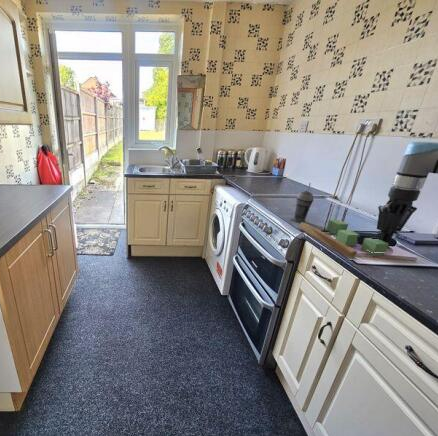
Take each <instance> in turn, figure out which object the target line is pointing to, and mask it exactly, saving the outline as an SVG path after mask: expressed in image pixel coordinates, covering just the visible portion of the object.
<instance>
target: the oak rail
mask: <svg viewBox="0 0 438 436" xmlns="http://www.w3.org/2000/svg"><path fill="white" fill-rule="evenodd" d="M299 229H300V230H301V231H303V232H305V233H307V234H309V235H310V236H311V237H313V238H314V239H317V240H318V241H320V242H321V243H323V244H324V245H326V246H328V247H329V248H331V249H333V250H335V252H338V253H340V254H341V255H343V256H344V257H346V258H348V259H351V260H352V259H355V258H356V256H357V253H358V251H357V250H356V249H354V248H352V247H351V246H347V245H345V244H343V243H341V242H340V241H338V240H336V238H334V237H332V236H331V235H329V234H327V233H325V232H323V231H321V230H320V229H318V228H316V227H314V226H312V225H311V224H310V223H307V222H305V221H304V222H301V223H300V225H299Z"/></svg>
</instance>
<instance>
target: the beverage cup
mask: <svg viewBox="0 0 438 436" xmlns="http://www.w3.org/2000/svg"><path fill="white" fill-rule="evenodd" d="M311 184H312V183H311V182H309V184H308V187H307V190H303V191H301V192H299V193H298V194H297V196H296V198H295V199H296V201H295V202H296V203H295V210H294V216H293V217H294V218H293V221H294V222H296V223H300V224H301V222H305V220H306V219H307V216H308V214H309V211H310V208H311V205H312V204H313V202H314V194H313V193H312V192H311V191H310V187H311Z"/></svg>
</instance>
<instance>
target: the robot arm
mask: <svg viewBox="0 0 438 436" xmlns="http://www.w3.org/2000/svg"><path fill="white" fill-rule="evenodd" d="M429 174H437V175H438V142H431V141H412V142H410V143H409V144H408V145H407V147H406V149H405V152H404V153H403V155H402V158H401V161H400V163H399V167H398V168H397V171H396V174H395V177H394V179H393V181H392V186H391V187H390V189H389V191H388V194H387V196H388V200H387V201H386V204H385V205H378V207H377V208H378V218H377V224H376V230H379V231H380V234H379V236H378V239H380V240H382V241H384V242H386V243H389V244H390V241H391V240H392V238H393V236H394V235H398V234H399V232H401V231H402V229H404V227H405V225H406V223H407V222H408V221H409V219H410V218H411V217H412V215H413V214H414V213H415V212H416V211H417V210H418V207H417V206H413V204H414V202H416V201H417V200H418V199H419V197H420V194H421V190H422V189H423V188H424V186H425V184H426V181H427V180H428V179H427V178H428V176H429Z"/></svg>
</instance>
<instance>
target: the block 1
mask: <svg viewBox="0 0 438 436" xmlns="http://www.w3.org/2000/svg"><path fill="white" fill-rule="evenodd" d="M348 227H349V223H347V222H344V221H342V220H340V219H329V220H328V223H327V226H326V231H327V232H329V233H331V234H333V235H337V233H338V230H348Z"/></svg>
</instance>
